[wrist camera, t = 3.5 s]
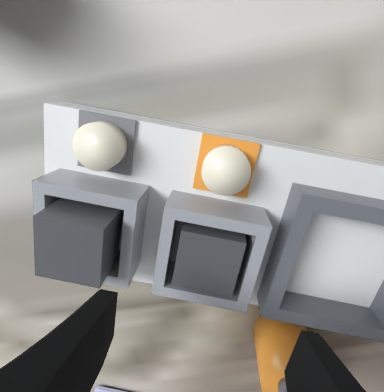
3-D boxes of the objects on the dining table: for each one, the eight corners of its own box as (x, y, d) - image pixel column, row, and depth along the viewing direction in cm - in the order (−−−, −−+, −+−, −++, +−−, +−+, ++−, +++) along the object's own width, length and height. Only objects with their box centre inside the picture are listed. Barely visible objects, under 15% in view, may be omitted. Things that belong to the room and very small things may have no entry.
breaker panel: (364, 303, 20) (409, 367, 15) (66, 243, 20) (20, 287, 16) (429, 169, 16) (515, 199, 12) (68, 102, 17) (9, 103, 12)
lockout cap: (297, 354, 22) (318, 424, 17) (247, 344, 22) (255, 411, 17) (313, 315, 20) (341, 380, 16) (260, 305, 21) (272, 366, 16)
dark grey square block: (229, 268, 17) (232, 296, 14) (177, 258, 17) (171, 284, 14) (242, 221, 15) (246, 243, 13) (186, 210, 16) (180, 230, 13)
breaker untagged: (117, 259, 15) (99, 288, 13) (62, 248, 16) (35, 275, 13) (122, 208, 14) (103, 229, 12) (63, 196, 14) (33, 215, 12)
